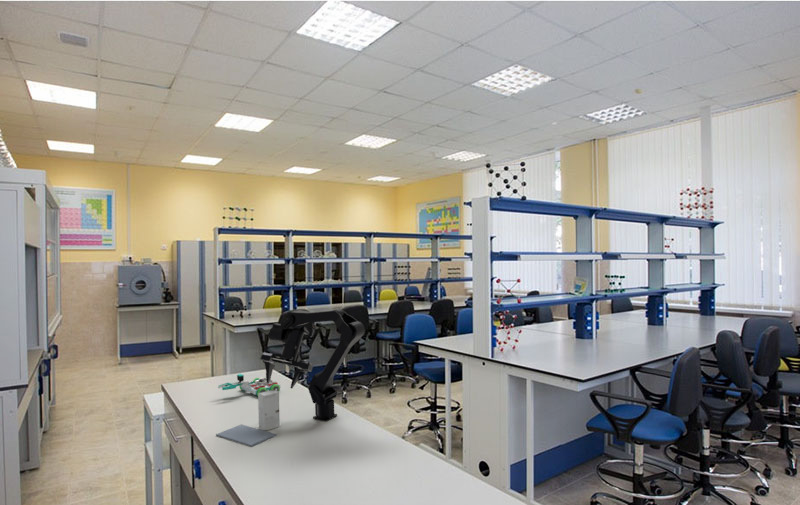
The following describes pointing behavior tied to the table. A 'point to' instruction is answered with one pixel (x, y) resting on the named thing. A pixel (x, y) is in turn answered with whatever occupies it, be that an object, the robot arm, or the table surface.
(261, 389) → the robot kit
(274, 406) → the skincare box
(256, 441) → the blue-gray mat
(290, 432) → the table surface
